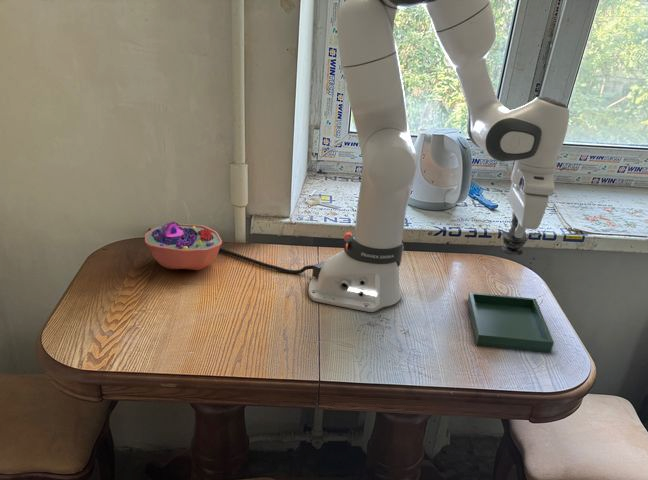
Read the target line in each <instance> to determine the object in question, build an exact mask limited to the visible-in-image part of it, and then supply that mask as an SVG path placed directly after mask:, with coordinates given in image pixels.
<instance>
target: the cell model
mask: <svg viewBox="0 0 648 480" xmlns="http://www.w3.org/2000/svg"><path fill="white" fill-rule="evenodd" d="M150 229H151V230H150V231H148V230H147V232H146V233H145V234H144V242H145V244H146V245H147V247H148V250H149V252H150V255H151V256H152V258H153V259H154V260H155V261H156V262H157V263H158V264H159V265H160V266H161V267H162V268H165V269H170V270H177V271H178V270H192V271H201V270H203V269H205V268H206V267H208V266H209V265H211V264H212V263H213V262H214V261H215V260H216V258H217V256H218V254H219V252H220V251H219V249H220V247H221V248H222V244H223V240H222V238H221V237H220V234H219V233H218V232H217V231H216V230H214V229H213V228H210V227H208V226H207V225H203V224H189V223H188V224H187V223H185V224H184V223H178V222H175V221H169V222H167V223H164V224H162V225H157V226H155V227H153V228H150Z"/></svg>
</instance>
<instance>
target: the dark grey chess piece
mask: <svg viewBox="0 0 648 480" xmlns="http://www.w3.org/2000/svg"><path fill="white" fill-rule="evenodd" d="M511 223H512V226H511V225H510V229H509V230H508V231H505V232H503V233H502V240H503V244H504V245H502V246H500V247H499V250H500V252H502V253H504V254H507V255H511V256H521V255H522V254H523V252H524V251H523V250H522V249H521V248H523V247H524V246H525V244H526V243H527V242H528V240H529V238H528V237H527V235H525V233H524V234H523V237H522V238H516V237H515V235H514V232H515V228H517V225H518V219H517V217H516V215H515V216H514V219H512V218H511Z"/></svg>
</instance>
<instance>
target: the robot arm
mask: <svg viewBox="0 0 648 480" xmlns="http://www.w3.org/2000/svg"><path fill="white" fill-rule="evenodd" d="M418 6H422V7H423V9H424V10H425V11H426V13H427V15H428V16H429V19H430V22H431V25H432V27H433V28H432V29H433V31H434V33H435V36H436V38H437V41H438V43H439V45H440V48H441V49H442V52H443V53H444V55H445V57H446V58H447V60H448V62H449V63H450V65H451V67H452V69H453V70H454V72H455V73H456V77H457V79H458V82H459V86H460V88H461V91H462V94H463V98H464V100H465V103H466V107H467V124H466V126H467V127H466V129H467V135H468V138H469V140H470V141H471V142H472V144H474V145H475V146H476V147H478V148H480V149H481V150H482V151H483V152H484V153H485V154H487V155H488V157H490V158H492V159H493V160H496V161H498V162H511V161H512V162H514V164H513V168H512V171H511V176H510V181H511V183H510V184H511V185H510V187H509V191H508V195H507V196H508V197H507V201H508V203H509V205H510V207H511V209H512V213H511V220H512V219H514V216H515V215H516V217H517V219H518V225H517V228H515V232H514V235H515V237H516V238H522V237H523V234H524V235H525V231H526V230H533V231H536V230H537V229H538V228H539V227H540V225H541V223H542V220H543V218H544V215H545V213H546V210H547V207H548V203H549V199H550V198H549V197H552V196H553V194H554V192H555V188H556V187H555V180H554V178H555V172H556V169H557V166H558V156H559V153H560V151H561V149H562V148H563V145H564V142H565V139H566V135H567V131H568V127H569V121H570V109H569V107H568V106H567V105H566V104H565V103H563V102H562V101H559V100H556V99H554V98H551V97H547V96H535V98H534V99H533V100H532V101H529V102H528V103H526V104H525V105H524V104H523V105H522V106H519V107H517V108H515V109H511V110H510V109H509V108H508V107H507V106H505V105H504V104H503V103H502V102H501V101H500V100H499V99H498V97H497V94H496V91H495V88H494V85H493V82H492V78H491V75H490V72H489V69H488V65H487V64H488V63H487V57H488V54H489V53H490V52H491V51H492V48H493V46H494V45H495V42H496V40H497V28H496V21H495V16H494V11H493V9H492V5H491V2H490V0H344V1H343V2H342V4H340V6H339V7H338V9H337V13H336V32H337V33H336V34H337V43H338V45H337V46H338V51H339V58H340V62H341V63H340V64H341V67H342V72H343V77H344V81H345V87H346V91H347V96H348V99H349V105H350V110H351V113H352V117H353V121H354V125H355V131H356V133H357V139H358V143H359V148H360V151H361V152H360V154H361V160H362V161H361V162H362V164H361V165H362V167H361V169H362V170H361V178H360V186H359V193H358V199H357V205H356V215H355V226H354V233H352V232H351V231H346V232H344V235H343V241H344V247H343V249H342V250H341V251H339V252H338V253H336V254H334V255H332V256H330V257H328V258H327V259H326V260H324V261H321V262H318V263H316V264H310V265H305V266H302V268H300V269H289V268H288V269H287V268H285V267H281V266H277V265H274V264H269V263H266V262H262V261H260V260H257V259H254V258H251V257H249V256H245V255H243V254H240V253H238V252H235V251H231V250H229V249H227V248H223V247H222V246H221V247H220V249H219V252H221V253H225V254H228V255H229V256H233V257H235V258H238V259H240V260H244V261H246V262H249V263H251V264H255V265H257V266H261V267H264V268H267V269H271V270H275V271H279V272H281V273H285V274H289V275H290V274H291V275H299V274H303V273H304V272H306V271H307V270H312V278H311V279H310V281H309V284H308V291H307V293H308V296H309V298H310V299H311V300H312V301H313V302H317V303H321V304H327V305H331V306H337V307H342V308H347V309H353V310H357V311H363V312H367V313H374V312H377V311H379V310H381V309H383V308H386V307H390V306H393V305H395V304H396V303H398V302H400V300H401V298H402V293H401V287H400V266H401V263H402V260H403V253H404V240H403V238H404V237H403V236H404V229H405V222H406V216H407V209H408V206H409V202H410V198H411V195H412V191H413V185H414V181H415V176H416V173H417V167H418V155H417V151H416V149H415V147H414V144H413V141H412V138H411V137H412V136H411V133H410V127H409V120H408V113H407V104H406V96H405V89H404V83H403V78H402V77H403V76H402V71H401V65H400V60H399V53H398V48H397V42H396V38H395V33H394V32H395V20H396V15H397V13H398V11H399V9H403V8H404V9H407V8H414V7H418ZM511 226H512V222H511V223H510V227H511ZM151 229H152V228H148V229H147V232H148V231H150V230H151Z"/></svg>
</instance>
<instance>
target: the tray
mask: <svg viewBox="0 0 648 480" xmlns="http://www.w3.org/2000/svg"><path fill="white" fill-rule="evenodd" d="M466 301H467V302H466V303H467V306H468V311H469V316H470V321H471V324H472V326H471V327H472V330H473V334H474V335H473V336H474V339H475V340H474V341H475V345H476V346H481V347H492V348H501V349H502V348H503V349H512V350H521V351H522V350H523V351H531V352H540V353H551V352H552V349H553V347H554V344H555V341H554V340H553V337H552V334H551V332H550V330H549V328H548V326H547V323H546V320H545V318H544V316H543V313H542V311H541V308H540V306H539V303H538V301H537V298H532V297H521V296H512V295H502V294H491V293H480V292H469V293H468V296H467V300H466Z"/></svg>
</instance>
